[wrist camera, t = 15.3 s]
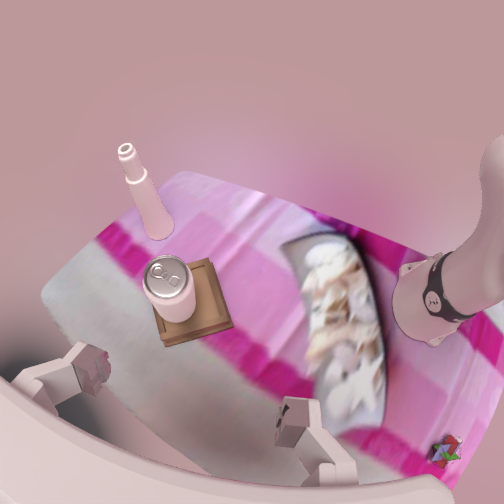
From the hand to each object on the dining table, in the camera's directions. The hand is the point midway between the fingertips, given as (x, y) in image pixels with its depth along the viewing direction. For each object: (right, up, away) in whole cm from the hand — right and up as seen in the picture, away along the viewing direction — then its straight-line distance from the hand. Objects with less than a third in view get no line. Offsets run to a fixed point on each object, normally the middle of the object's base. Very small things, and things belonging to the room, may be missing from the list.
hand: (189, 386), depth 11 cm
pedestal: (-8, -3, +36) cm, 37 cm away
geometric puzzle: (+41, -35, +24) cm, 59 cm away
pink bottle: (-16, +11, +42) cm, 46 cm away
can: (-9, -3, +32) cm, 33 cm away
